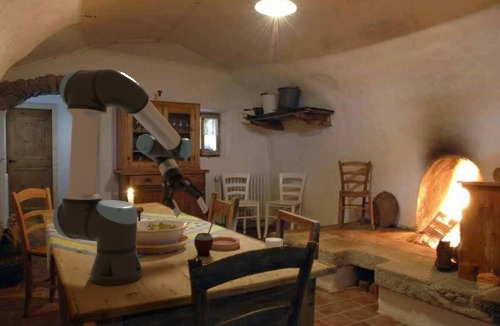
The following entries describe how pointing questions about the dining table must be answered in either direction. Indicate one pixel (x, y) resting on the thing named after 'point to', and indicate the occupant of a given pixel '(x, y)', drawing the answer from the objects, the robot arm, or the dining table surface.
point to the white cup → (273, 242)
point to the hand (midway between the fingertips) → (192, 213)
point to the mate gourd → (204, 242)
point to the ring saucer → (225, 243)
